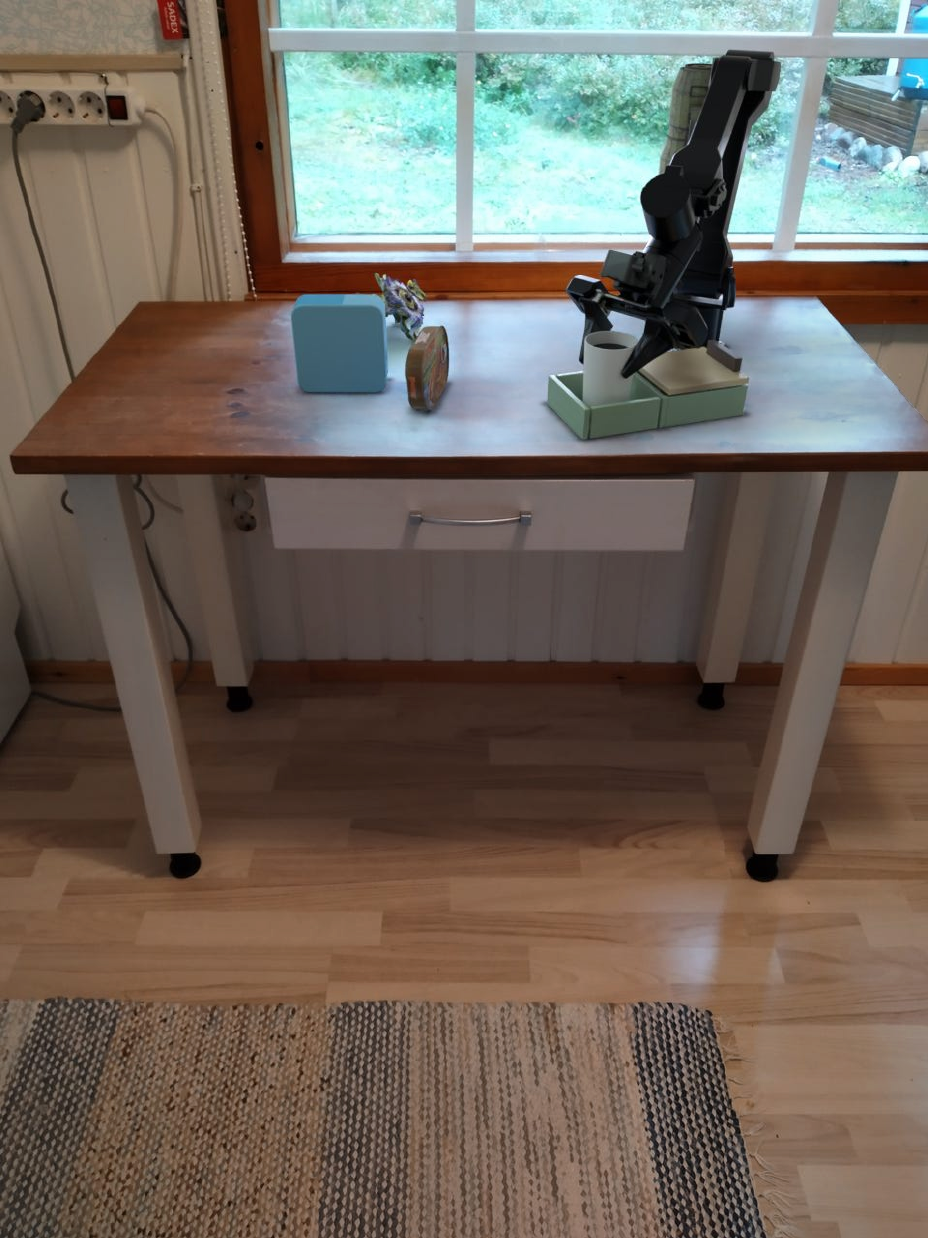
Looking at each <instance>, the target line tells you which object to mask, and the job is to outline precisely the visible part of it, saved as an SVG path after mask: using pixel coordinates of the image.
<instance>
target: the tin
mask: <svg viewBox="0 0 928 1238" xmlns="http://www.w3.org/2000/svg"><path fill="white" fill-rule="evenodd" d="M412 342H413V343H412V344H411V346H410V347H409V349H408V351H407V354H406V357H405V365H404V376H405V381H406V390H407V402H408V404H409V406H410V408H411V409H413V410H426V411H427V410H428V411H433V410H434V408H435V407H436V404H437V403H438V401H439V399H440V397H441V395H442V393H443V391H444V390H445V388H446V386H447V383H448V379H449V373H450V345H449V337H448V333H447V330H446V328H445V326H444V325H436V326H435V325H427V326H424V327H423V328H421V330H420V333H419V335H418V336H417V338H416V339H414V341H412Z"/></svg>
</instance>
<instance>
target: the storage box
mask: <svg viewBox="0 0 928 1238" xmlns="http://www.w3.org/2000/svg"><path fill="white" fill-rule="evenodd" d="M748 388H749V386H748V385H747V384H741V385H734V386H728V387H721V388H714V389H707V390H700V391H693V392H686V393H680V394H673V395H668V394H667V395H665V394H664V393H663V392H662V391H663V390H662V389H661V388H659V387H658V386H657V385H656V384H654V383H653V382H652V381H651V380H649V379H648V378H647V377H646V376H644V375H643V374H642V373H641V372H639V371H637V372H636V373H634V374H633V378H632V385H631V391H630V398H629V401H626V402H619V403H612V404H605V405H599V406H592V407H590V409H589V408H588V407H587V406H586V405H585V404H584V403H583V370H580V371H574V372H572V371H571V372H565V373H558V374H555V375H554V374H551V375H548V380H547V397H546V398H547V401H546V404H547V406H549V408H551V410H553V412H554V413H556V415H558V417H559V418H560V419H561V420H562V421H563V422H564V423H565V424H566V425H567V426H568V427H569V428H570V429H571V430H572V431H573V432H574V433H575V434H576V435H577V436H578V437H579V438H580V439H581V440H583V441H584V440H588V438H589V439H596V438H603V437H610V436H616V435H617V436H618V435H622V434H629V433H635V432H642V431H649V430H654V429H658V428H660V429H662V428H668V427H673V426H674V427H675V426H681V425H686V424H693V423H698V422H699V423H700V422H706V421H712V420H718V419H719V420H720V419H725V418H731V417H738V416H743V415H744V410H745V404H746V398H747V393H748ZM589 412H590V417H589Z"/></svg>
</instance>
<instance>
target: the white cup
mask: <svg viewBox="0 0 928 1238" xmlns="http://www.w3.org/2000/svg"><path fill="white" fill-rule="evenodd" d="M638 342H639V339H638V338H637V337H636V336H635V335H632V334H629V333H627V332H622V331H614V330H610V331H599V332H595V333H591V334H589V335H587V336H586V337H585V340H584V364H583V370H582V371H583V401H582V402H583V403H584V404H585V405H586V406H587V407H588V408H589V409H590V407H592V406H599V405H605V404H612V403H619V402H626V401H629V398H630V391H631V385H632V378H633V375H631V376H630V377H629V378H627V379H625V378H623V377H622V375H621V373H622V371H623V369H624V366H625V364H626V362H627V361H628V359H629V357H630V355H631V354H632V352H633V350H634V349H635V347H636V345H637V343H638ZM589 417H590V412H589Z"/></svg>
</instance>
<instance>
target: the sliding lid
mask: <svg viewBox="0 0 928 1238" xmlns="http://www.w3.org/2000/svg"><path fill="white" fill-rule="evenodd" d="M742 363H743V357H742V356H740V355H739V354H737V353H736V352H734V351H733V350H731V349H730V348H729V347H726V346H723V345H722V344H720V343H719V342H717V341H716V340H708V344H707V349H706V348H705V347H701V348H699V349H697V348H692V349H685V350H684V349H676V350H669V351H668V352H666V353H664V354H662V355H661V356H659V357H657V358H656V359H654V360H652V361H651V362H650V363H648V364H647V365H645V366H644V367H643V368H641V369H640V370H638V371H639V372H641V373H642V374H643V375H644V376H646V377H647V378H648V379H649V380H651V381H652V382H653V383H654V384H656V385H657V386H658V387H659V388H661V389H662V390H661V391H662V392H664V393H666V394H667V395H674V394H681V393H688V392H695V391H702V390H708V389H715V388H722V387H729V386H736V385H743V384H746V385H747V384H749V382H750V377H749V376H747V375H746V374H745V373H743V372H741V369H742Z"/></svg>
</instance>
